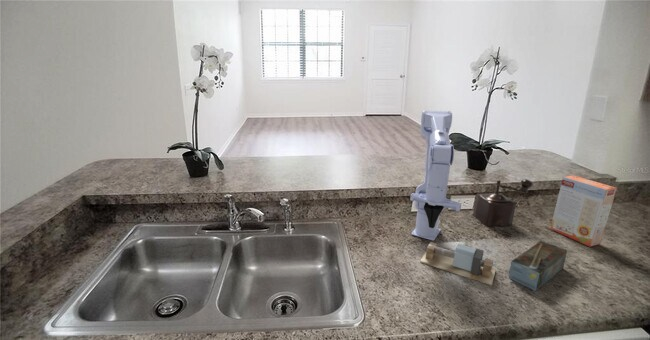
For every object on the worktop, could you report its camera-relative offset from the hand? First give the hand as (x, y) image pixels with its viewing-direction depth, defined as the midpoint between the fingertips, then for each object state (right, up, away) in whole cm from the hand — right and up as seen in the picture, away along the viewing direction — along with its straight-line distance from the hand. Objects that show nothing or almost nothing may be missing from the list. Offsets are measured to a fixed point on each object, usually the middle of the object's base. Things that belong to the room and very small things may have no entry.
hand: (431, 226), depth 102 cm
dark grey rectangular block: (+11, -13, -5) cm, 18 cm away
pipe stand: (+7, -12, -2) cm, 14 cm away
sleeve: (+8, -11, -3) cm, 14 cm away
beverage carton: (+29, -13, -4) cm, 32 cm away
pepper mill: (+35, -3, +28) cm, 45 cm away
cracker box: (+56, -7, +17) cm, 59 cm away
